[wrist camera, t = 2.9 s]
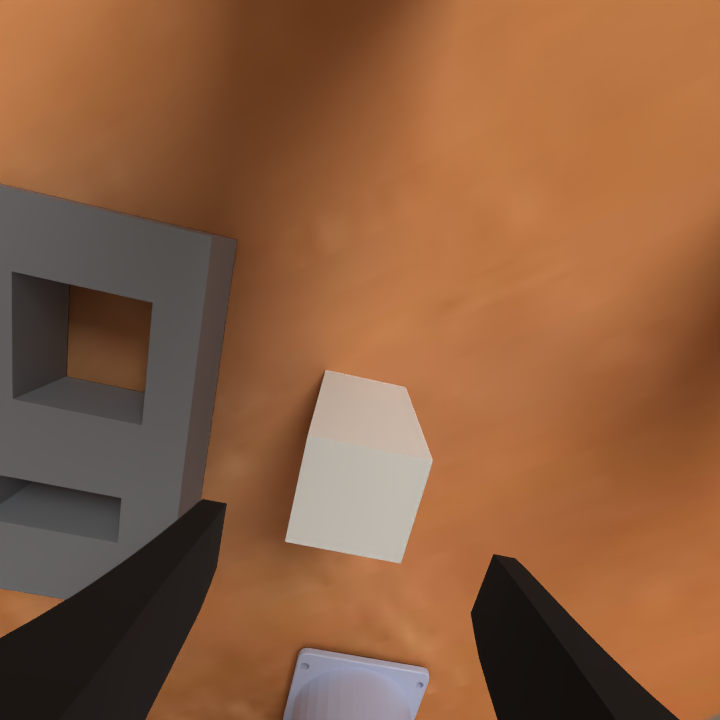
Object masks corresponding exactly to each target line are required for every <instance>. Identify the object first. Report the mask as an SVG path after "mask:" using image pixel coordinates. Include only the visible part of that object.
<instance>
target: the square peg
mask: <svg viewBox="0 0 720 720" xmlns="http://www.w3.org/2000/svg"><path fill="white" fill-rule="evenodd" d="M432 462H433V460H432V457H431V454H430V452H429V449H428V446H427V443H426V441H425V438H424V435H423V433H422V430H421V427H420V425H419V422H418V419H417V416H416V414H415V411H414V408H413V406H412V403H411V400H410V397H409V395H408V392H407V389H406V387H402V386H398V385H393V384H389V383H384V382H379V381H375V380H370V379H366V378H361V377H357V376H352V375H347V374H343V373H338V372H334V371H329V370H325V374H324V378H323V381H322V385H321V389H320V392H319V396H318V400H317V403H316V407H315V411H314V414H313V418H312V421H311V425H310V429H309V432H308V436H307V441H306V446H305V450H304V455H303V460H302V464H301V469H300V474H299V478H298V483H297V488H296V492H295V497H294V502H293V506H292V511H291V516H290V520H289V525H288V530H287V534H286V539H285V542H289V543H294V544H300V545H305V546H310V547H316V548H321V549H326V550H332V551H337V552H342V553H348V554H353V555H358V556H364V557H369V558H374V559H380V560H385V561H390V562H396V563H401V561H402V558H403V555H404V552H405V548H406V545H407V542H408V539H409V536H410V532H411V529H412V526H413V523H414V520H415V516H416V513H417V510H418V507H419V504H420V500H421V497H422V494H423V491H424V488H425V484H426V481H427V478H428V475H429V472H430V469H431V465H432Z"/></svg>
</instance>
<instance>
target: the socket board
mask: <svg viewBox="0 0 720 720" xmlns="http://www.w3.org/2000/svg"><path fill="white" fill-rule="evenodd" d="M236 244H237V240H236V239H232V238H228V237H223V236H219V235H215V234H211V233H206V232H202V231H198V230H194V229H189V228H185V227H181V226H177V225H173V224H168V223H164V222H160V221H156V220H151V219H147V218H143V217H139V216H134V215H130V214H126V213H122V212H118V211H113V210H109V209H105V208H101V207H96V206H92V205H88V204H84V203H79V202H75V201H71V200H67V199H63V198H58V197H54V196H50V195H46V194H41V193H37V192H33V191H29V190H24V189H20V188H16V187H12V186H8V185H3V184H0V588H1V589H7V590H12V591H18V592H24V593H30V594H36V595H42V596H48V597H54V598H60V599H65V600H66V599H68V598H70V597H71V596H73V595H74V594H76V593H77V592H79V591H81V590H82V589H84V588H85V587H87V586H88V585H90V584H91V583H93V582H94V581H96V580H97V579H99V578H100V577H101V576H103V575H104V574H106V573H107V572H109V571H110V570H111V569H113V568H114V567H116V566H117V565H119V564H120V563H122V562H123V561H124V560H126V559H127V558H129V557H130V556H131V555H133V554H134V553H135V552H137V551H138V550H139V549H141V548H142V547H143V546H145V545H146V544H147V543H148V542H150V541H151V540H152V539H154V538H155V537H156V536H158V535H159V534H160V533H161V532H163V531H164V530H165V529H166V528H168V527H169V526H170V525H171V524H173V523H174V522H175V521H176V520H178V519H179V518H180V517H181V516H182V515H184V514H185V513H186V512H187V511H188V510H190V509H191V508H192V507H193V506H194V505H195V504H197V503H198V502H199V501H201V494H202V487H203V480H204V473H205V465H206V458H207V451H208V444H209V437H210V430H211V422H212V415H213V408H214V401H215V394H216V387H217V380H218V372H219V365H220V358H221V351H222V344H223V337H224V330H225V322H226V315H227V308H228V301H229V294H230V287H231V280H232V272H233V265H234V258H235V251H236ZM69 284H71V285H75V286H80V287H84V288H89V289H93V290H98V291H102V292H107V293H111V294H116V295H120V296H125V297H129V298H134V299H138V300H143V301H147V302H152V303H153V306H152V317H151V328H150V340H149V351H148V362H147V373H146V385H145V393H143V392H138V391H133V390H129V389H124V388H119V387H114V386H109V385H105V384H100V383H95V382H90V381H85V380H80V379H76V378H71V377H66V373H67V341H68V309H69Z"/></svg>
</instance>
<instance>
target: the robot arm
mask: <svg viewBox="0 0 720 720" xmlns="http://www.w3.org/2000/svg"><path fill="white" fill-rule="evenodd" d="M226 505H227V504H225V503H220V502H215V501H210V500H204V499H203V500H201V501H199V502H198V503H197V504H195V505H194V506H193V507H192V508H191V509H190V510H188V511H187V512H186V513H185V514H184V515H182V516H181V517H180V518H179V519H178V520H176V521H175V522H174V523H173V524H171V525H170V526H169V527H168V528H166V529H165V530H164V531H163V532H161V533H160V534H159V535H158V536H156V537H155V538H154V539H152V540H151V541H150V542H148V543H147V544H146V545H145V546H143V547H142V548H141V549H139V550H138V551H137V552H135V553H134V554H133V555H131V556H130V557H129V558H127V559H126V560H124V561H123V562H122V563H120V564H119V565H117V566H116V567H114V568H113V569H111V570H110V571H109V572H107V573H106V574H104V575H103V576H101V577H100V578H99V579H97V580H96V581H94V582H93V583H91V584H90V585H88V586H87V587H85V588H84V589H82V590H81V591H79V592H77V593H76V594H74V595H73V596H71V597H70V598H68V599H66V600H65V601H63V602H62V603H60V604H58V605H57V606H55V607H53V608H52V609H50V610H48V611H47V612H45V613H43V614H42V615H40V616H38V617H37V618H35V619H33V620H32V621H30V622H28V623H26V624H24V625H23V626H21V627H19V628H17V629H15V630H14V631H12V632H10V633H8V634H7V635H5V636H3V637H1V638H0V720H145V719H146V717H147V715H148V713H149V711H150V709H151V707H152V705H153V703H154V701H155V699H156V697H157V695H158V693H159V691H160V689H161V687H162V685H163V683H164V681H165V679H166V677H167V675H168V673H169V671H170V669H171V667H172V665H173V663H174V661H175V659H176V657H177V655H178V653H179V651H180V649H181V647H182V646H183V644H184V642H185V640H186V638H187V636H188V634H189V632H190V630H191V628H192V626H193V624H194V622H195V620H196V618H197V616H198V613H199V611H200V609H201V607H202V604H203V602H204V599H205V597H206V594H207V592H208V589H209V586H210V584H211V581H212V578H213V576H214V573H215V571H216V568H217V562H218V555H219V549H220V543H221V536H222V530H223V524H224V517H225V511H226ZM471 617H472V623H473V629H474V635H475V640H476V645H477V650H478V655H479V659H480V663H481V666H482V670H483V673H484V676H485V680H486V683H487V687H488V690H489V693H490V697H491V700H492V703H493V706H494V710H495V713H496V716H497V719H498V720H679V719H678V718H677V717H676V716H674V715H673V714H672V713H671V712H670V711H669V710H668V709H667V708H665V707H664V706H663V705H662V704H661V703H660V702H659V701H657V700H656V699H655V698H654V697H653V696H652V695H651V694H650V693H649V692H647V691H646V690H645V689H644V688H643V687H642V686H641V685H640V684H639V683H638V682H637V681H636V680H634V679H633V678H632V677H631V676H630V675H629V674H628V673H627V672H626V671H625V670H624V669H623V668H622V667H621V666H620V665H619V664H618V663H617V662H616V661H615V660H614V659H613V658H612V657H611V656H610V655H609V654H608V653H607V652H606V651H605V650H604V649H603V648H602V647H601V646H600V645H599V644H598V643H597V642H596V641H595V640H594V639H593V638H592V637H591V636H590V635H589V634H588V633H587V632H586V631H585V630H584V629H583V628H582V627H581V626H580V625H579V624H578V623H577V622H576V621H575V620H574V619H573V618H572V617H571V616H570V615H569V614H568V612H567V611H566V610H565V609H564V608H563V607H562V606H561V605H560V604H559V603H558V602H557V601H556V600H555V599H554V598H553V597H552V596H551V595H550V593H549V592H548V591H547V590H546V589H545V588H544V587H543V586H542V585H541V584H540V583H539V582H538V581H537V580H536V579H535V578H534V577H533V576H532V575H531V573H530V572H529V571H528V570H527V569H526V568H525V567H524V566H523V565H522V564H521V563H519V562H518V561H517V560H516V559H515V558H511V557H505V556H500V555H495V554H493V557H492V559H491V562H490V565H489V567H488V570H487V572H486V575H485V578H484V580H483V583H482V585H481V588H480V591H479V593H478V596H477V598H476V601H475V604H474V606H473V609H472V612H471ZM428 682H429V672H428V670H427V669H426V668H424V667H420V666H414V665H408V664H402V663H396V662H390V661H384V660H378V659H372V658H366V657H360V656H354V655H348V654H343V653H337V652H331V651H325V650H319V649H313V648H303V649H302V650H300V652H299V654H298V659H297V663H296V667H295V671H294V675H293V679H292V683H291V687H290V691H289V695H288V699H287V703H286V707H285V711H284V715H283V719H282V720H414V719H415V717H416V714H417V711H418V709H419V706H420V703H421V700H422V698H423V695H424V692H425V690H426V687H427V684H428Z"/></svg>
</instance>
